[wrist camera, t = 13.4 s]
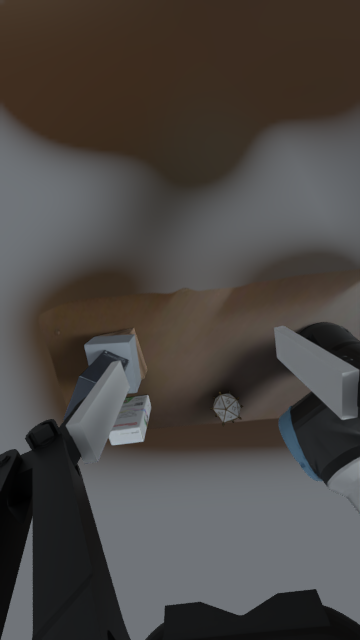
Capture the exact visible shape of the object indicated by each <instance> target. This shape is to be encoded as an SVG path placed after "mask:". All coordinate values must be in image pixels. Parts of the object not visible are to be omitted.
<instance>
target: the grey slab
mask: <svg viewBox="0 0 360 640" xmlns="http://www.w3.org/2000/svg"><path fill="white" fill-rule="evenodd" d="M84 347H85V351H86V356H87V360H88V365H89V366H90V365H91V364H92V363H93V362H94V361H95V359H96V358H97V357H98V356H99V355H100V354H101V353H102V352H103V351H104V350H106V351H109V352H112V353H113V354H116V355H118V356H120V357H123V358H125V359H128V360H129V363H128V365H127V368H126V370H125V375H126V378H127V381H128V383H129V386H130V388H129V390H128V393H137V391H138V388H139V385H140V383H141V375H140V368H139V361H138V354H137V347H136V340H135V334H131V335H114V336H97V337H93V338H92V339H91V340H90V341H88V342H87V343H86V344H85V345H84Z"/></svg>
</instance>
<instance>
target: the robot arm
mask: <svg viewBox="0 0 360 640" xmlns="http://www.w3.org/2000/svg"><path fill="white" fill-rule="evenodd" d="M274 332H275V342H276V352H277V358H278V359H279V360H280V361H281V362H282V363H283V364H284V365H285V366H286V367H287V368H288V369H289V370H290V371H291V372H292V373H293V374H294V375H296V376H297V377H298V378H299V379H300V380H301V381H302V382H303V383H304V384H305V385H306V386H307V387H308V388H309V389H310V390H311V392H310V393H309V394H307V395H306V396H305V397H303V398H302V399H301V400H299V401H298V402H297V403H296V404H294V405H293V406H290V407H289V409H288V410H287V411H286V412H285V413H284V414H283V415H282V416H281V417H280V418H279V429H280V432H281V435H282V437H283V439H284V441H285V443H286V445H287V447H288V449H289V450H290V452H291V453H292V455H293V456H294V458H295V459H296V461H297V462H299V464H300V465H301V467H302V468H303V470H304V471H305V472H306V473H307V475H308V476H310V477H311V478H312V479H314V480H316V481H324V483H325V484H326V485H327V487H328V488H329V490H331V491H333V492H335V493H338V494H340V495H342V496H344V497H346V498H347V499H348V500H349V501H350V502H351V504H352V505H353V506H354V508H355V509H356V510H357V511H358V513H359V514H360V341H359V340H358V339H357V338H355V337H354V336H353V335H352V334H351V333H350V332H349V331H348V330H347V329H345V328H343V327H341V326H339V325H336V324H333V323H328V322H323V323H317V324H314V325H311V326H309V327H307V328H306V329H304V330H303V331H302V332H301V333H300V334H297V333H295V332H293V331H292V330H290V329H288V328H287V327H285V326H280V327H276V328H274ZM129 388H130V386H129V383H128V381H127V378H126V375H125V372H124V369H123V367H122V364H121V361H115V362H112V363H111V364H110V365H109V367H108V368H107V369H106V371H105V372H104V374H103V375H102V376H101V378H100V379H99V380H98V382H97V383H96V385H95V386H94V387H93V389H92V390H91V391H90V393H89V394H88V395H87V397H86V398H83V399H82V400H81V401H80V402H79V403H77V405H76V406H75V407H74V409H73V411H71V413H70V414H69V416H68V417H67V418H66V419H65V420H64V422H63V423H62V424H61V426H60V427H58V426H57V424H56V422H55V420H54V419H50V420H46V421H44V422H42V423H40V424H38V425H37V426H35V427H34V428H33V429H32V430H31V431H29V433H28V434H27V435H26V438H25V439H26V441H27V443H28V444H29V446H30V448H31V449H32V450H31V451H29V452H27V453H24V454H22V455H20V454H19V452H18V451H17V450H16V449H13V450H9V451H6V452H5V453H3V454H1V455H0V640H1V636H2V632H3V628H4V624H5V621H6V617H7V613H8V609H9V605H10V601H11V598H12V593H13V590H14V586H15V582H16V578H17V574H18V570H19V567H20V563H21V558H22V555H23V551H24V547H25V543H26V540H27V535H28V532H29V528H30V524H31V520H32V516H33V637H32V640H131V639H130V637H129V635H128V632H127V629H126V627H125V624H124V621H123V618H122V614H121V611H120V607H119V604H118V600H117V597H116V593H115V590H114V587H113V583H112V579H111V576H110V572H109V569H108V566H107V562H106V559H105V555H104V552H103V548H102V545H101V541H100V538H99V534H98V531H97V527H96V524H95V520H94V517H93V513H92V510H91V506H90V503H89V500H88V496H87V493H86V489H85V486H84V482H83V478H82V475H81V472H80V468H79V466H78V464H77V463H78V461H79V459H80V457H82V459H83V461H84V463H85V464H88V463H94V462H98V460H99V458H100V456H101V453H102V451H103V449H104V446H105V444H106V442H107V439H108V437H109V435H110V432H111V430H112V428H113V425H114V423H115V421H116V418H117V416H118V414H119V411H120V409H121V407H122V404H123V402H124V400H125V397H126V395H127V393H128V390H129ZM145 640H360V625H359V624H358V623H357V622H355V621H353V620H352V619H350V618H349V617H347V616H346V615H344V614H342V613H340V612H338V611H336V610H334V609H332V608H330V607H326V606H324V605H322V603H321V600H320V598H319V595H318V593H317V591H316V589H313V590H304V591H295V592H286V593H278V594H276V595H274V596H273V597H271V598H270V599H268V600H266V601H265V602H263V603H262V604H260V605H259V606H257V607H256V608H254V609H252V610H251V611H249V612H248V613H246V614H245V615H236V614H233V613H230V612H227V611H224V610H222V609H219V608H216V607H213V606H210V605H207V604H204V603H202V602H195V603H186V604H176V605H167V606H165V616H164V623H162V624H161V625H160V626H158V627H157V628H156V629H155V630H154V631H153V632H152V633H151V634H150V635H149V636H148V637H147V638H146V639H145Z"/></svg>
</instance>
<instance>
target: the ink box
mask: <svg viewBox="0 0 360 640" xmlns="http://www.w3.org/2000/svg"><path fill="white" fill-rule="evenodd" d="M150 411H151V403H150V400H149V396H148V395H143V396H136V397H129V398H125V400H124V402H123V404H122V407H121V409H120V411H119V414H118V416H117V418H116V421H115V423H114V425H113V428H112V430H111V432H110V435H109V437H108V438H109V440H110V442H111V445H119V444H127V443H136V442H143V441H144V438H145V433H146V429H147V425H148V420H149V415H150Z"/></svg>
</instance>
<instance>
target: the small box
mask: <svg viewBox="0 0 360 640" xmlns="http://www.w3.org/2000/svg"><path fill="white" fill-rule="evenodd" d="M115 361H121V364H122V367H123V369H124V372H125V370H126V368H127V365H128V363H129V360H128V359H125V358H123V357H120V356H118V355H116V354H113V353H112V352H109V351H106V350H104V351H103V352H102V353H101V354H100V355H99V356H98V357H97V358H96V359H95V361H94V362H93V363H92V364H91V365H90V366H89V367H88V368H87V369H86V370H85V371H84V372H83V373H82V374H81V375H80V376H79V379H78V381H77V384H76V387H75V390H74V392H73V395H72V398H71V400H70V403H69V406H68V408H67V411H66V414H65V416H64V420H65V419H66V418H67V417H68V416H69V414H70V413H71V411H73V409H74V407H75V406H76V405H77V403H79V402H80V401H81V400H82V399H83V398H86V397H87V395H88V394H89V393H90V391H91V390H92V389H93V387H94V386H95V385H96V383H97V382H98V380H99V379H100V378H101V376H102V375H103V374H104V372H105V371H106V369H107V368H108V367H109V365H110V364H111V363H112V362H115Z"/></svg>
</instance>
